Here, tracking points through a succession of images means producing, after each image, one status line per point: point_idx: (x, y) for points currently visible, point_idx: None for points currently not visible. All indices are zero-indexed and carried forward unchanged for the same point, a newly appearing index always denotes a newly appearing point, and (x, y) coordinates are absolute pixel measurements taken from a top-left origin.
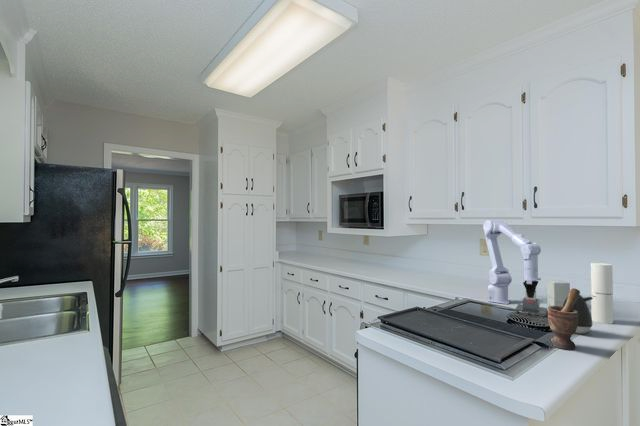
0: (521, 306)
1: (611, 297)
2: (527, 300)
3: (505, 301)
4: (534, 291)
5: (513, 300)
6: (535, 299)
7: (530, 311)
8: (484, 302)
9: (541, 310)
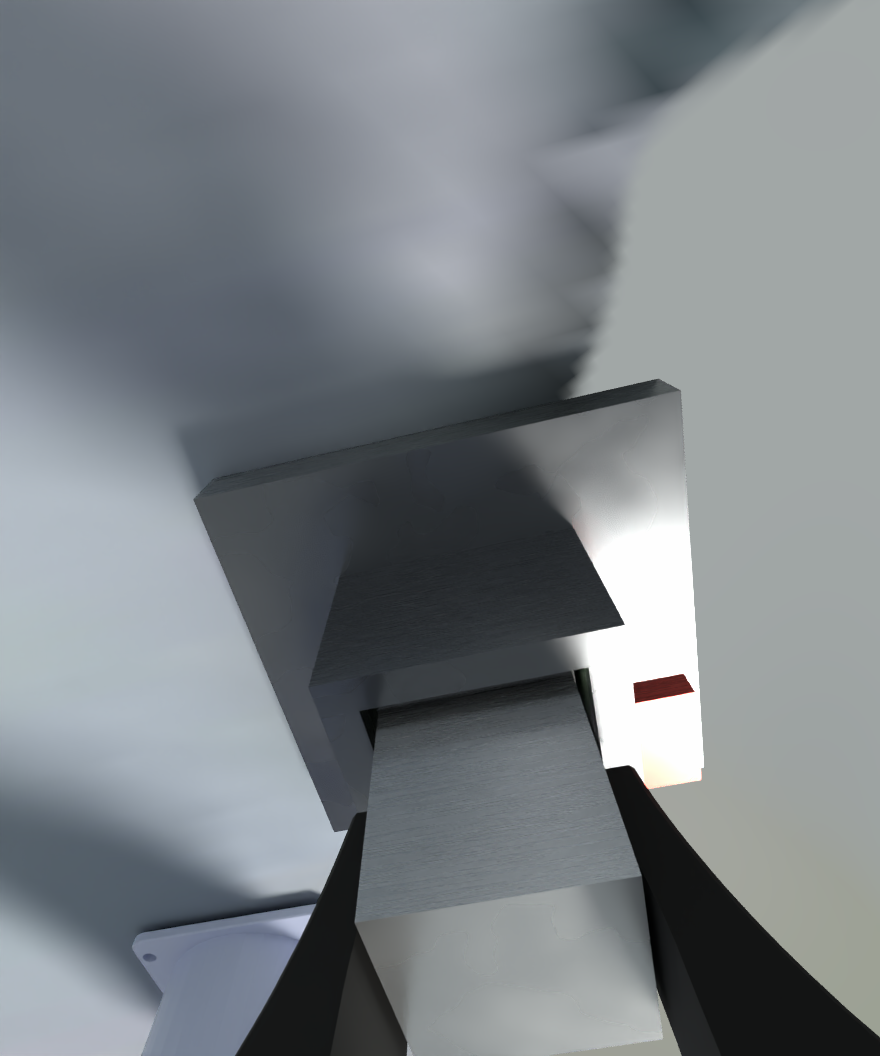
0: None
1: None
2: (662, 784)
3: (290, 952)
4: (521, 921)
5: (36, 924)
6: (581, 707)
7: (676, 603)
8: None
9: (463, 512)
